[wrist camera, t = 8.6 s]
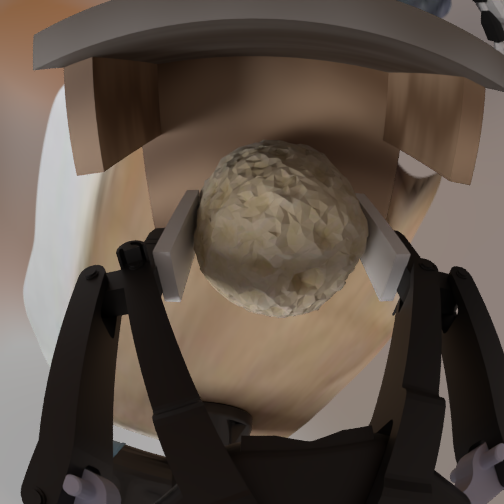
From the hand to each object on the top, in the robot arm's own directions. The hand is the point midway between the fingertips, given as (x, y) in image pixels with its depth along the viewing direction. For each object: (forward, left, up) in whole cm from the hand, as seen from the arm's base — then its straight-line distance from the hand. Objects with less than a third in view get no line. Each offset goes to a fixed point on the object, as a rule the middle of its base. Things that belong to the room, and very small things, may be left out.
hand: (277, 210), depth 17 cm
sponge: (0, 0, -1) cm, 1 cm away
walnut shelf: (+3, 0, -5) cm, 6 cm away
